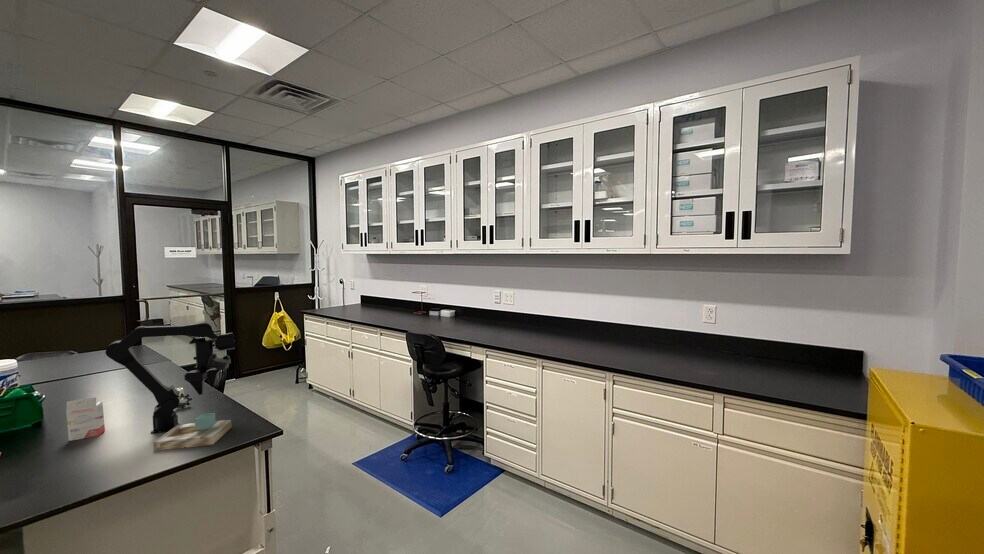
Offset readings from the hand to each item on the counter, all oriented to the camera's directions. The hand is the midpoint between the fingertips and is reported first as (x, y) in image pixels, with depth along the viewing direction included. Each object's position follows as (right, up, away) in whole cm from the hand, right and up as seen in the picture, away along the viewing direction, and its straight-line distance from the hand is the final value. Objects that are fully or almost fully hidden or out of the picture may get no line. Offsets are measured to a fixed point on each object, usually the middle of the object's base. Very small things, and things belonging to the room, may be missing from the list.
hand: (206, 390), depth 155 cm
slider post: (+11, -12, -15) cm, 22 cm away
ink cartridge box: (-36, -14, -12) cm, 40 cm away
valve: (-25, -12, +17) cm, 33 cm away
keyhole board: (+8, -13, -16) cm, 22 cm away
